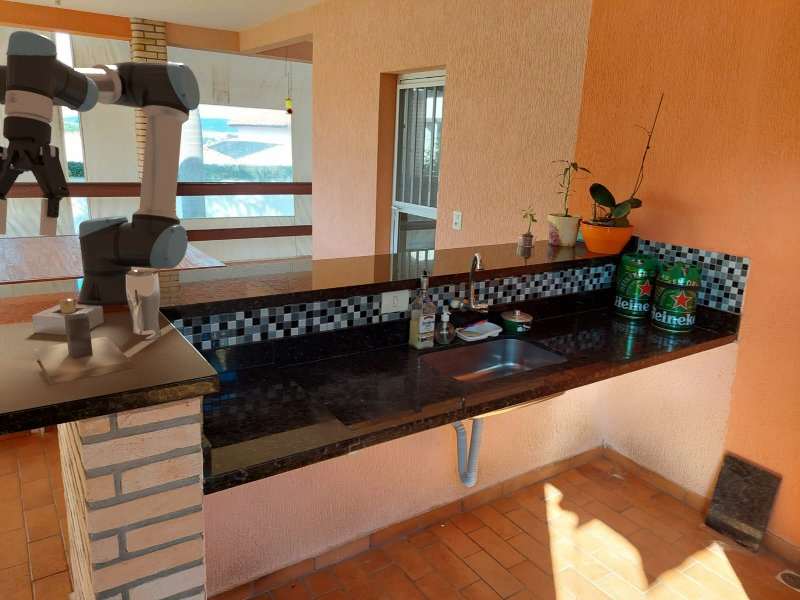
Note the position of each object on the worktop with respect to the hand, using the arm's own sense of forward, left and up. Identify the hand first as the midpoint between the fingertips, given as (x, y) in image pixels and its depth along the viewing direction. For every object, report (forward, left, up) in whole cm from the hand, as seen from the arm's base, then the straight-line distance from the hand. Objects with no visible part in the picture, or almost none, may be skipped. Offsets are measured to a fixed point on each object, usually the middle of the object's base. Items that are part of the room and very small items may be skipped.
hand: (21, 235), depth 109 cm
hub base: (-7, +2, -26) cm, 27 cm away
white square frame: (-9, -18, -24) cm, 31 cm away
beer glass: (-22, -6, -26) cm, 35 cm away
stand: (-9, -18, -26) cm, 33 cm away
